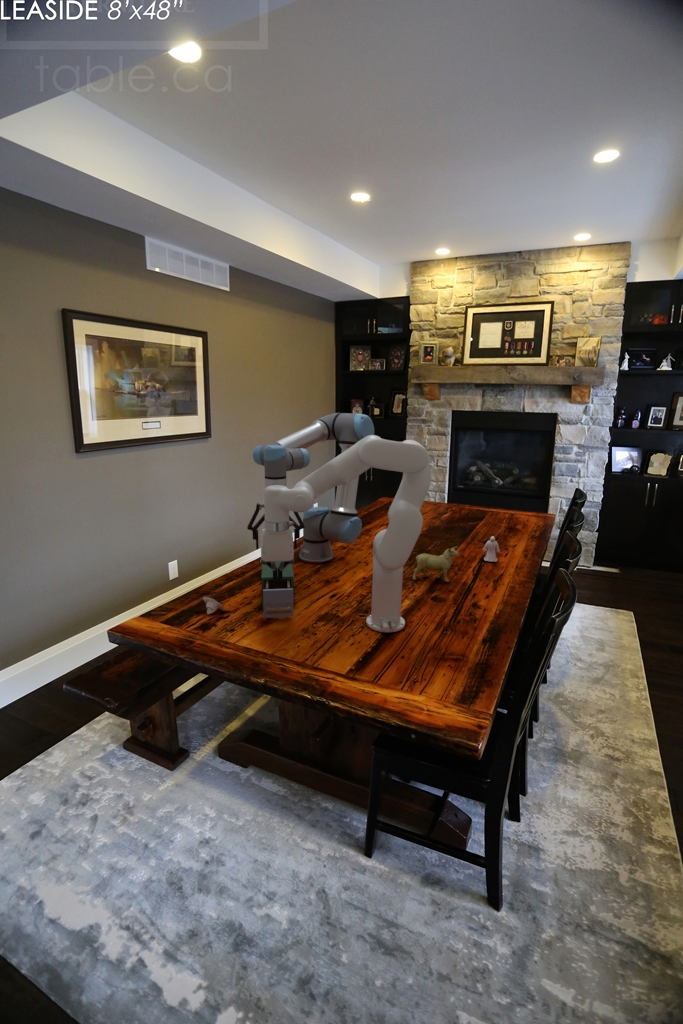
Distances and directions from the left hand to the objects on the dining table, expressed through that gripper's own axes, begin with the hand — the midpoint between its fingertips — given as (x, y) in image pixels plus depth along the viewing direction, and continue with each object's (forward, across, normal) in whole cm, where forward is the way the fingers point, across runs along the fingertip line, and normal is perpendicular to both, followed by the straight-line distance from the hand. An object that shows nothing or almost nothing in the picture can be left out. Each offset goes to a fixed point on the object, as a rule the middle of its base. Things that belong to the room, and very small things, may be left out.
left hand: (276, 547), depth 180 cm
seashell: (+18, +22, +13) cm, 31 cm away
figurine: (+18, -96, -28) cm, 102 cm away
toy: (+18, -63, -8) cm, 66 cm away
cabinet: (+18, 0, +4) cm, 18 cm away
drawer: (+17, 0, +17) cm, 24 cm away
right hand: (+4, 0, +23) cm, 24 cm away
